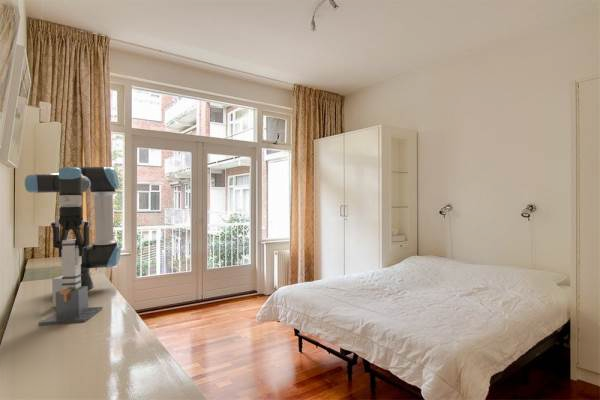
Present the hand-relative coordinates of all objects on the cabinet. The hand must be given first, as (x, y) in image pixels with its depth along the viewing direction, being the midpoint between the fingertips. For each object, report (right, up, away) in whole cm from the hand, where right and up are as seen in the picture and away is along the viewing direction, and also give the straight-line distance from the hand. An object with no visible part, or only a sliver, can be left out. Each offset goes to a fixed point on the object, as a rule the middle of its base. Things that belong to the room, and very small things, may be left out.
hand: (71, 264), depth 136 cm
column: (0, -12, 0) cm, 12 cm away
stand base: (0, -21, 0) cm, 21 cm away
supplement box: (-14, -21, +17) cm, 30 cm away
